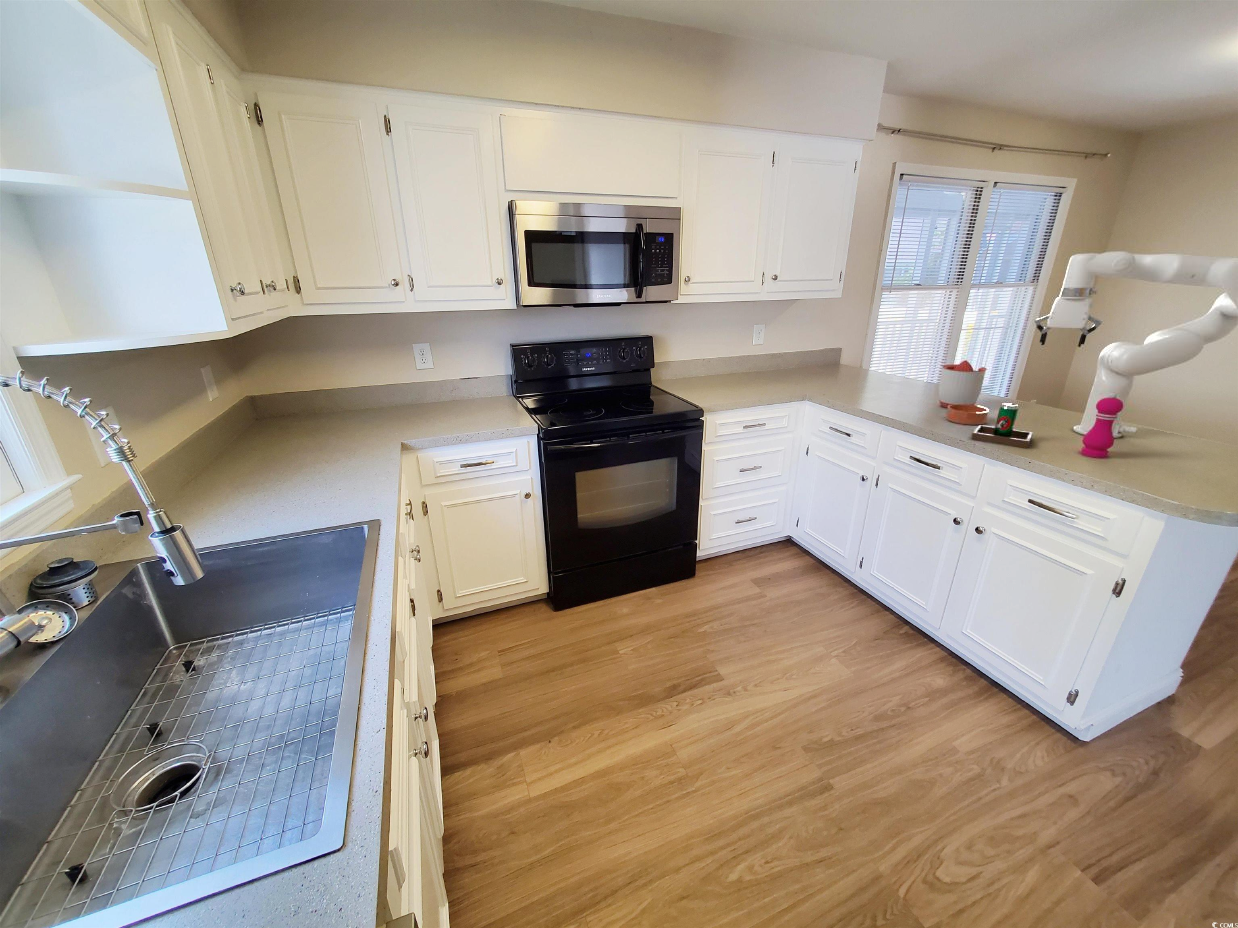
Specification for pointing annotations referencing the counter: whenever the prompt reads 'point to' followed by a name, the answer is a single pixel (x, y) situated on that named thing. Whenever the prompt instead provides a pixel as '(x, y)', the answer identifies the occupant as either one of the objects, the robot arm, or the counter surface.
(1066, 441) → the counter surface
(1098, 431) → the pepper mill
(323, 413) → the counter surface
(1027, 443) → the tray
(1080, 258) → the robot arm
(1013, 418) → the soda can
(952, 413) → the bowl
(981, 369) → the citrus juicer
